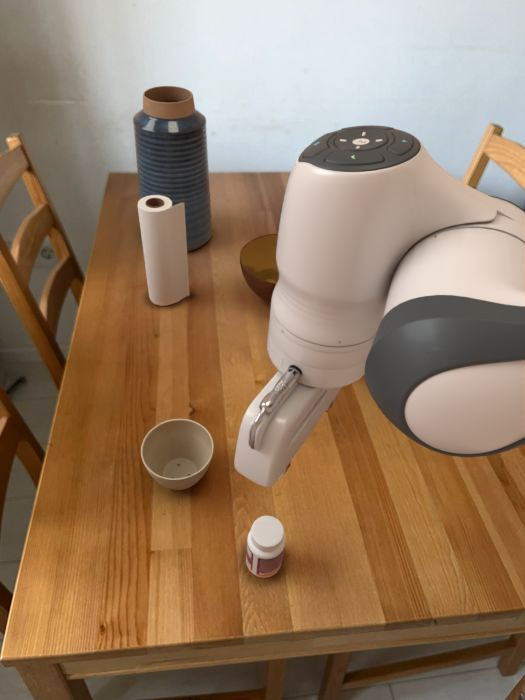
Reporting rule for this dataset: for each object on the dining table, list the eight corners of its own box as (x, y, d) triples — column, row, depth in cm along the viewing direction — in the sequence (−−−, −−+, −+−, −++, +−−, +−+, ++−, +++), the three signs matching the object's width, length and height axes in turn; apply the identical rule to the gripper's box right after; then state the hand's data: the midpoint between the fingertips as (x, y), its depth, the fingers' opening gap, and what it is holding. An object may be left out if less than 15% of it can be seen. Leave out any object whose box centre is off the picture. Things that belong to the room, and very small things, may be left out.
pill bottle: (287, 554, 68) (294, 524, 62) (270, 585, 65) (275, 557, 59) (257, 536, 70) (260, 505, 64) (238, 565, 67) (240, 536, 61)
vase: (184, 262, 114) (174, 116, 92) (128, 238, 119) (106, 95, 97) (225, 231, 124) (226, 92, 102) (172, 210, 130) (162, 74, 108)
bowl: (225, 284, 109) (225, 243, 102) (296, 265, 116) (301, 226, 109) (262, 335, 99) (266, 294, 92) (339, 311, 105) (347, 271, 98)
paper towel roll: (143, 300, 104) (130, 204, 89) (160, 284, 108) (151, 190, 93) (172, 312, 102) (164, 216, 87) (189, 296, 106) (184, 201, 91)
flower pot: (131, 482, 75) (125, 454, 70) (176, 436, 81) (173, 407, 76) (184, 519, 71) (181, 492, 66) (227, 468, 77) (228, 440, 72)
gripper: (293, 440, 34) (275, 535, 44) (402, 287, 47) (370, 387, 57) (215, 398, 36) (215, 497, 46) (340, 263, 49) (320, 363, 59)
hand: (301, 435), depth 51 cm, fingers open, 8 cm apart
